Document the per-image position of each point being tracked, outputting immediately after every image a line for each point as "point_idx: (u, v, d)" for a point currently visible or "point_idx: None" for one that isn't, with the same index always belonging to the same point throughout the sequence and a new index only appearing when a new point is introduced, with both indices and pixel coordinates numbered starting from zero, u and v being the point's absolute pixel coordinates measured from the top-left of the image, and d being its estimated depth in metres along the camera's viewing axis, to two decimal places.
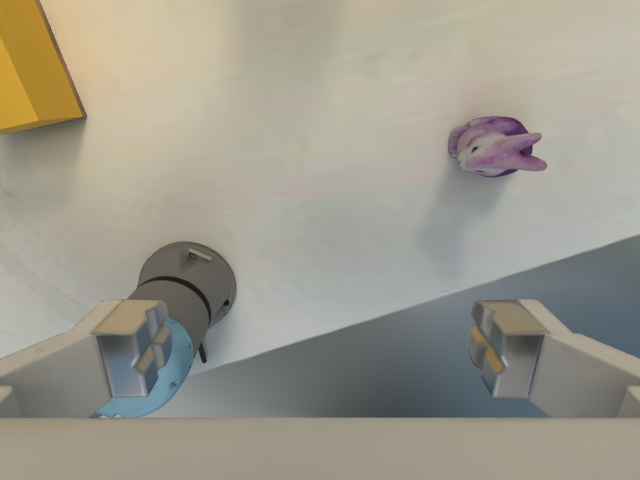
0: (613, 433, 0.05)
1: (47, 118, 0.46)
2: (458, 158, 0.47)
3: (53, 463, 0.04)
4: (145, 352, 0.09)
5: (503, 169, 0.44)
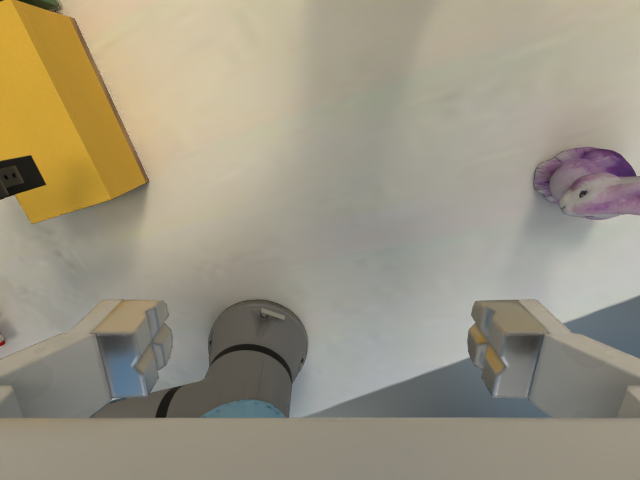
0: (613, 433, 0.05)
1: (118, 194, 0.44)
2: (561, 202, 0.43)
3: (53, 463, 0.04)
4: (145, 352, 0.09)
5: (619, 214, 0.40)
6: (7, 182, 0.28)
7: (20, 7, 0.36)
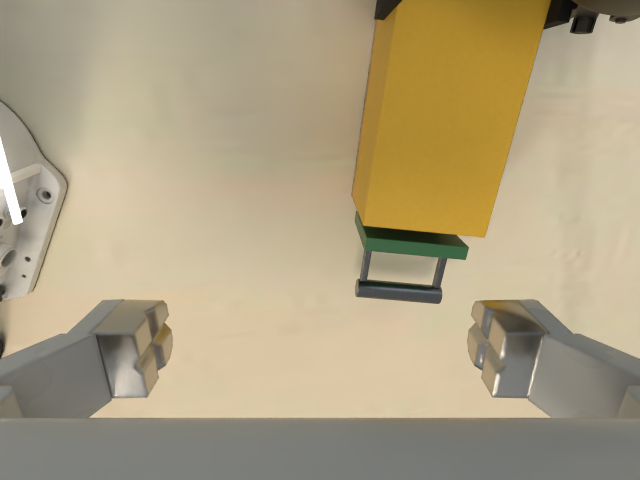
0: (613, 433, 0.05)
1: None
2: None
3: (53, 463, 0.04)
4: (145, 352, 0.09)
5: None
6: None
7: (362, 214, 0.31)
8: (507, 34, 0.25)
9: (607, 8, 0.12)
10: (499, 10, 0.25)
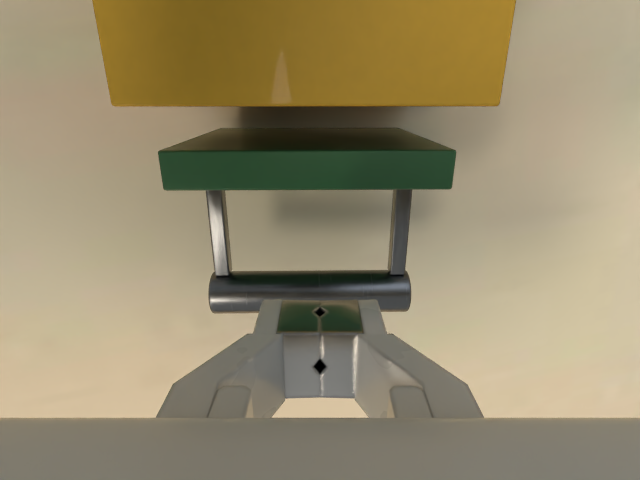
0: (613, 433, 0.05)
1: None
2: None
3: (53, 463, 0.04)
4: None
5: None
6: None
7: None
8: None
9: None
10: None
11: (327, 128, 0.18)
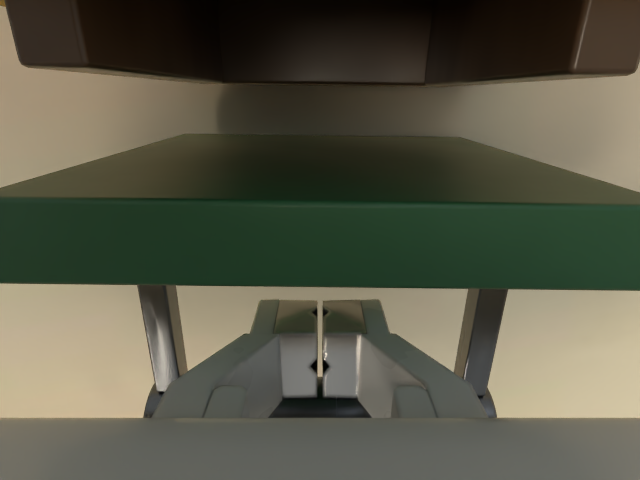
0: (613, 433, 0.05)
1: None
2: None
3: (53, 463, 0.04)
4: None
5: None
6: None
7: None
8: None
9: None
10: None
11: (350, 136, 0.12)
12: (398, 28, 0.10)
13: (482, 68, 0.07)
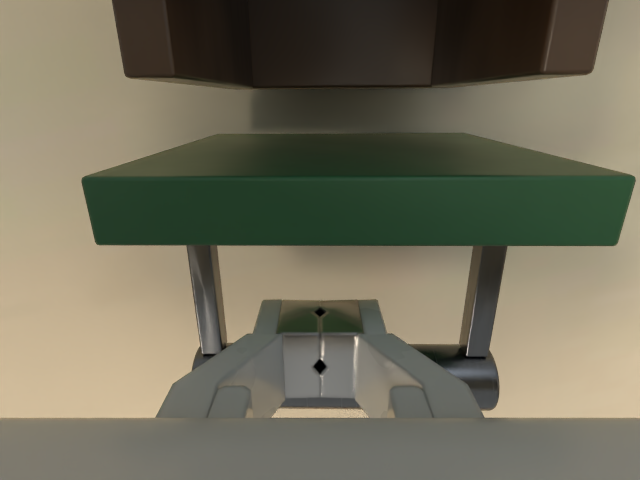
0: (613, 433, 0.05)
1: None
2: None
3: (53, 463, 0.04)
4: None
5: None
6: None
7: None
8: None
9: None
10: None
11: (364, 133, 0.13)
12: (406, 37, 0.11)
13: (478, 71, 0.08)
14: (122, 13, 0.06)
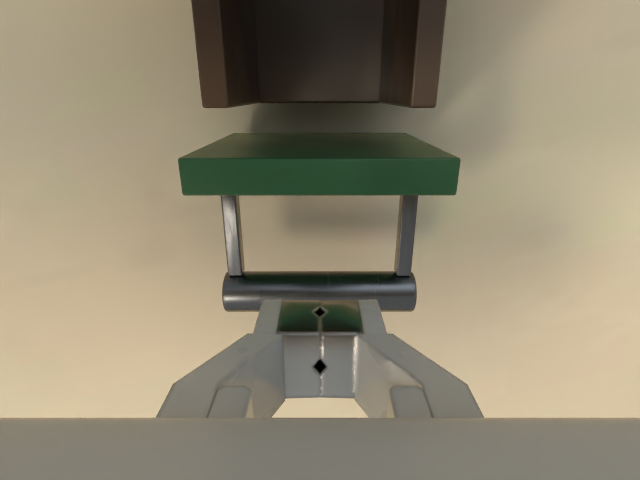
0: (613, 433, 0.05)
1: None
2: None
3: (53, 463, 0.04)
4: None
5: None
6: None
7: None
8: None
9: None
10: None
11: (336, 133, 0.19)
12: (362, 70, 0.17)
13: (394, 99, 0.14)
14: (203, 76, 0.11)
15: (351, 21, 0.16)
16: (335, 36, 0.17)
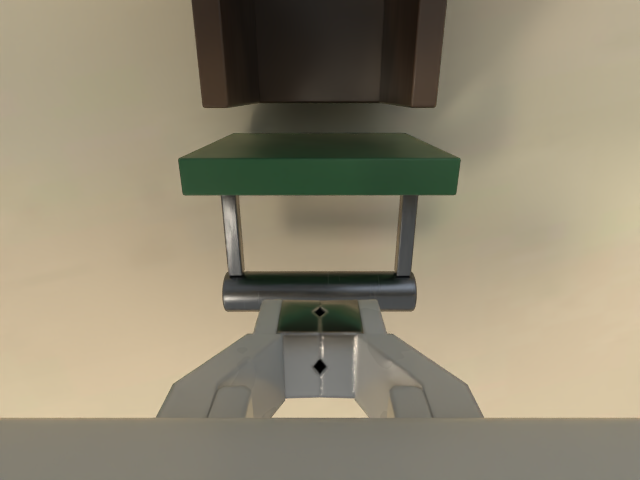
0: (613, 433, 0.05)
1: None
2: None
3: (53, 463, 0.04)
4: None
5: None
6: None
7: None
8: None
9: None
10: None
11: (336, 133, 0.19)
12: (362, 70, 0.17)
13: (394, 99, 0.14)
14: (203, 76, 0.11)
15: (351, 21, 0.16)
16: (335, 36, 0.17)
